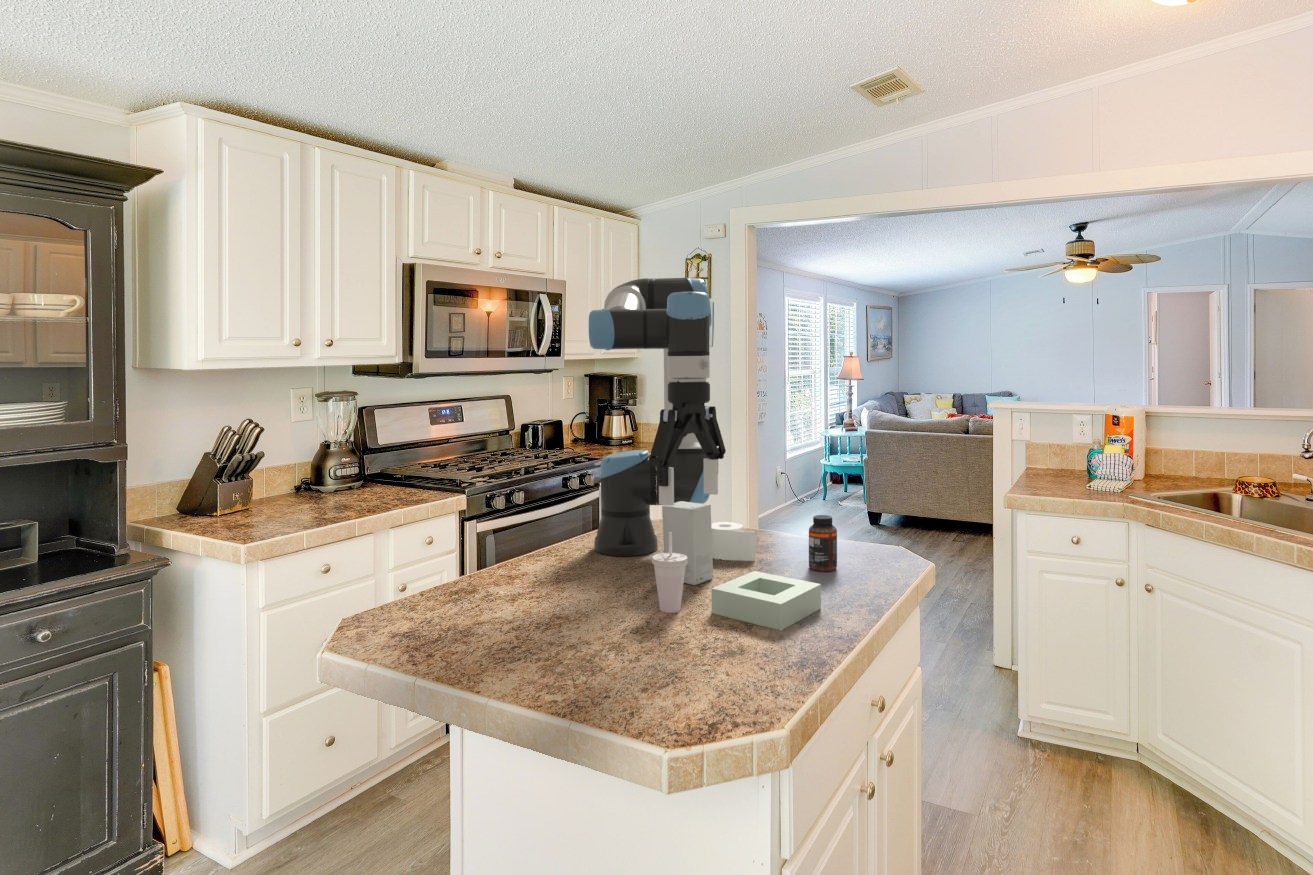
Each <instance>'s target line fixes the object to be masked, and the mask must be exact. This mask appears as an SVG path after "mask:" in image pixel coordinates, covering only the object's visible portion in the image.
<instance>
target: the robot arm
mask: <svg viewBox="0 0 1313 875" xmlns="http://www.w3.org/2000/svg"><path fill="white" fill-rule="evenodd" d="M712 320H713V319H712V308H711V300H710V294H709V290H708V286H707V284H706V282H705V281H704V280H703V279H701V278H697V277H696V278H690V277H667V278H665V277H664V278H639V279H638V278H637V279H632V280H629V281H627V282H624V283H621V284H619V285H618V286H616V287H614V288H613V289H612V290H611V291H610V292H609V293H608V294H607V296H606V298H605V300H604V306H603V308H602V309H592V310H591V311H590V313H589V314H588V340H589V346H590V347H591V348H592V349H594V350H606V351H610V350H640V349H641V350H643V349H644V350H650V349H651V350H663V392H664V393H663V397H664V398H663V404H664V406H663V409H661V410H660V412H659V423H658V427H657V430H656V433H655V437H654V440H653V444H652V448H651V451H649V450H647V449H635V450H625V451H621V452H616V453H612V454H609V455H608V454H607V455H606V456H604V457H603V458H602V460H600V474H599V478H600V512H601V513H600V521H599V524H598V527H597V532H596V536H595V537H594V539H593V540H594V545H593V546H594V551H595V552H597V553H599V554H602V555H606V556H615V557H632V556H641V555H647V554H651V553H653V552H655V551H657V549H658V538H657V535H656V533H655V529H654V525H653V522H652V520H651V519H652V518H651V507H650V506H664V505H670V506H672V505H674V503H676V502H680V501H685V502H692V503H701V504H706V502H708V500H709V498H710V495H715V496H716V495H718V494H719V460H722V459H724V457H725V454H726V450H727V449H726V447H725V443H724V439H723V436H722V433H721V430H720V426H719V422H718V420H717V408H716V407H715V406H714V405H713V406H709V405H708V406H707V405H705V404H708V403H710V400H711V384H710V383H709V381H707V380H708V379H709V378H710V377H711V375H710V371H711V370H710V368H711V366H710V365H711V364H710V354H711V353H710V338H711V337H710V336H711V334H710V331H711V330H710V329H711V328H710V327H711V326H712V322H713V321H712Z"/></svg>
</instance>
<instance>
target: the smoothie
mask: <svg viewBox="0 0 1313 875" xmlns="http://www.w3.org/2000/svg"><path fill="white" fill-rule="evenodd" d="M687 563H688V561H687V556H686V555H684V554H680V553H672V532H669V553H664V552H662V553H657V554H655V555H653V556H652V558H651V564H652V565H653V567H654V574H655V575H654V577H655V583H656V589H657V597H658V598H657V599H658V604H659V606H658V607H659V611H660V610H661V611H660V612H661V613H664V614H665V613H667V614H674V613H678V612H681V610H682V609H681V607H682V600H683V599H682V598H683V592H684V584H685V583H684V575H685V566H686V564H687Z"/></svg>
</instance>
